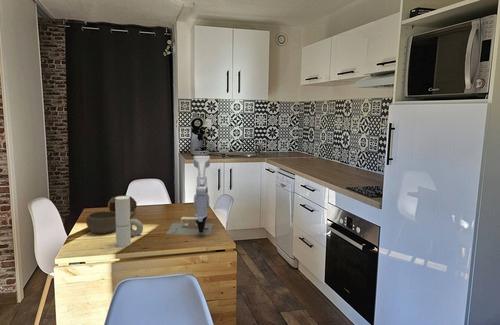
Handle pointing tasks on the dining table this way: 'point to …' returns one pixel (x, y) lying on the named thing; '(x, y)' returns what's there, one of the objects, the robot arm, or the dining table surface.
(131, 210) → the clay pot
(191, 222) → the block
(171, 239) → the dining table surface
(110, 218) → the bowl
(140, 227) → the donut
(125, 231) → the cylindrical container
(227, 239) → the dining table surface
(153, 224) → the dining table surface
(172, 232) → the metal bar
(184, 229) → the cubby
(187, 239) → the dining table surface
